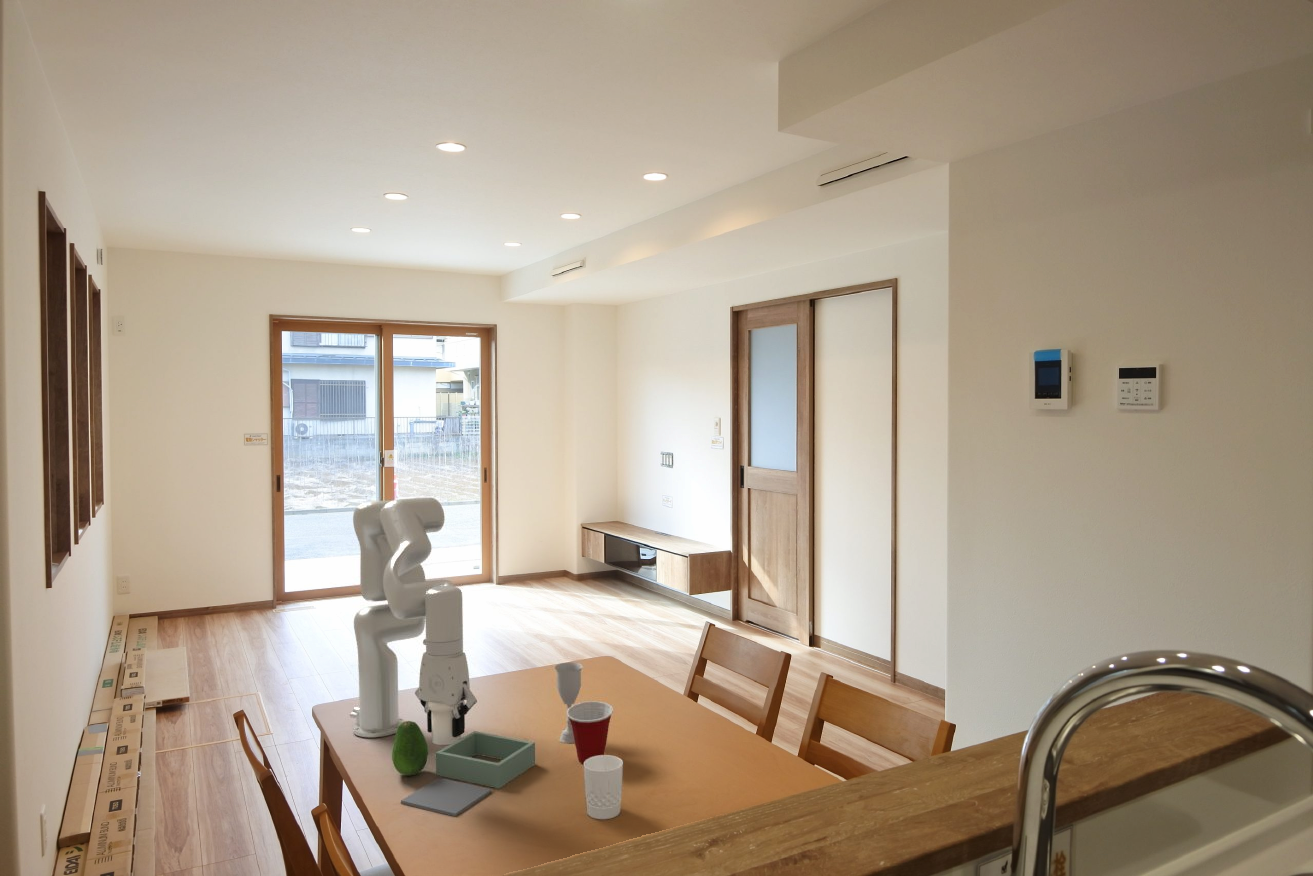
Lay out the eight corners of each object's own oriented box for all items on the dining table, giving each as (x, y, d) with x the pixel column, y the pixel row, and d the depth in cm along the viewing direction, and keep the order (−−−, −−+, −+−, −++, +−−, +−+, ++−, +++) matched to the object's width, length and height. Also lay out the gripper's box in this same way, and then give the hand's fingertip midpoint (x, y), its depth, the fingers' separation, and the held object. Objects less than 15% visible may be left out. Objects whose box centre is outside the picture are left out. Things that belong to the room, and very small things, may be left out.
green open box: (435, 774, 188) (435, 752, 188) (474, 752, 201) (474, 731, 201) (499, 788, 181) (498, 765, 181) (535, 764, 194) (535, 742, 194)
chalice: (578, 746, 204) (577, 672, 204) (551, 744, 206) (550, 670, 205) (587, 734, 212) (586, 663, 211) (561, 732, 213) (560, 661, 212)
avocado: (390, 771, 191) (389, 718, 190) (426, 765, 194) (425, 713, 193) (394, 785, 183) (393, 730, 183) (431, 778, 186) (430, 725, 186)
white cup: (584, 803, 174) (583, 755, 174) (622, 802, 175) (622, 754, 174) (584, 822, 166) (583, 772, 166) (624, 820, 167) (623, 770, 167)
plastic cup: (558, 766, 193) (558, 714, 192) (579, 748, 203) (578, 699, 202) (602, 773, 189) (602, 719, 189) (621, 754, 199) (620, 703, 199)
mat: (400, 803, 175) (400, 800, 175) (439, 780, 186) (438, 777, 186) (455, 816, 169) (455, 813, 169) (491, 792, 180) (491, 789, 180)
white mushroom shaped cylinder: (421, 742, 175) (420, 701, 175) (443, 731, 181) (443, 691, 181) (448, 748, 172) (448, 706, 172) (470, 736, 178) (469, 695, 178)
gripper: (399, 646, 177) (401, 732, 177) (466, 656, 169) (468, 745, 170) (424, 638, 183) (425, 721, 184) (489, 646, 176) (490, 732, 176)
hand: (446, 731), depth 177 cm, fingers closed on white mushroom shaped cylinder, 5 cm apart
